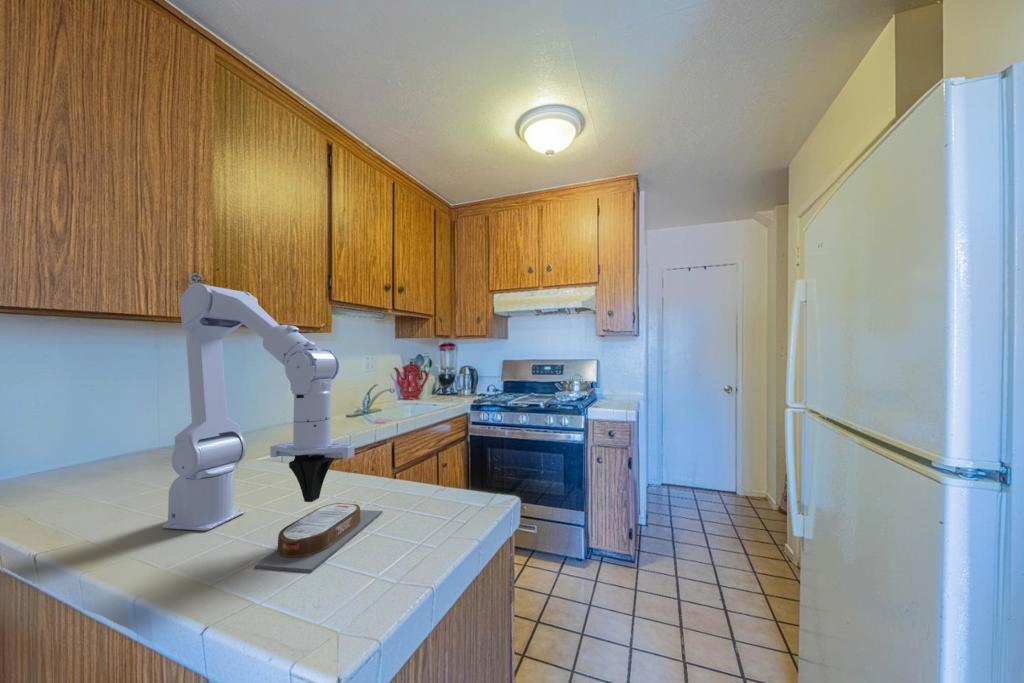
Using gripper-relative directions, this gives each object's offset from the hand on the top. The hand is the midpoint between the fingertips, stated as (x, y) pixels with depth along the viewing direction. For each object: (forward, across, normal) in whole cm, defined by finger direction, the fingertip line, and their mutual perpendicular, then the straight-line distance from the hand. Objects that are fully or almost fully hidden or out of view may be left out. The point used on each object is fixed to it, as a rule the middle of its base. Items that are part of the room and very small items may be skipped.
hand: (311, 499), depth 63 cm
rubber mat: (+6, +3, 0) cm, 7 cm away
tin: (+4, -2, 0) cm, 4 cm away
